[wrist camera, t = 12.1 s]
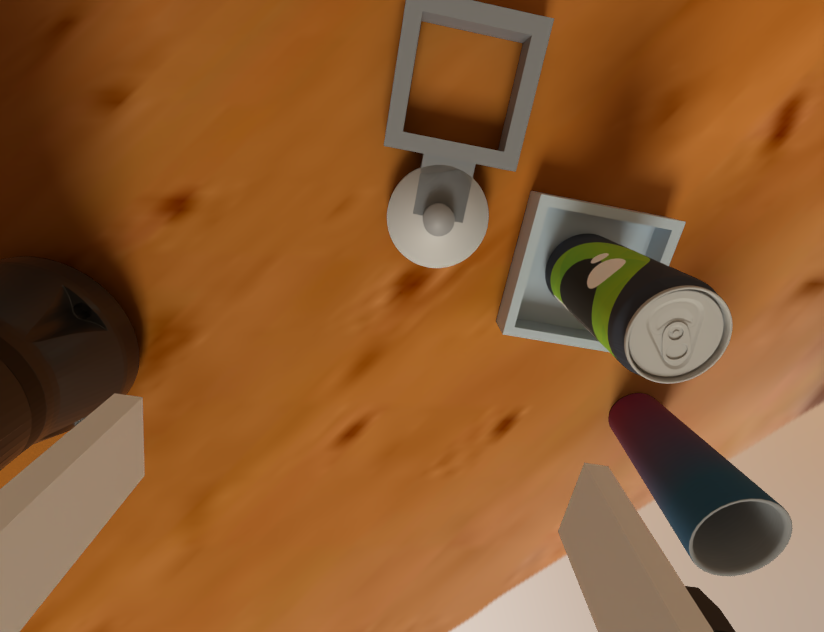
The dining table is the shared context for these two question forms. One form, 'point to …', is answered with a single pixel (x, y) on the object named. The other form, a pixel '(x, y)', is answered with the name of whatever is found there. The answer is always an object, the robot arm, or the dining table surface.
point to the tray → (540, 234)
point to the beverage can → (640, 308)
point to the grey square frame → (450, 161)
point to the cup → (700, 490)
